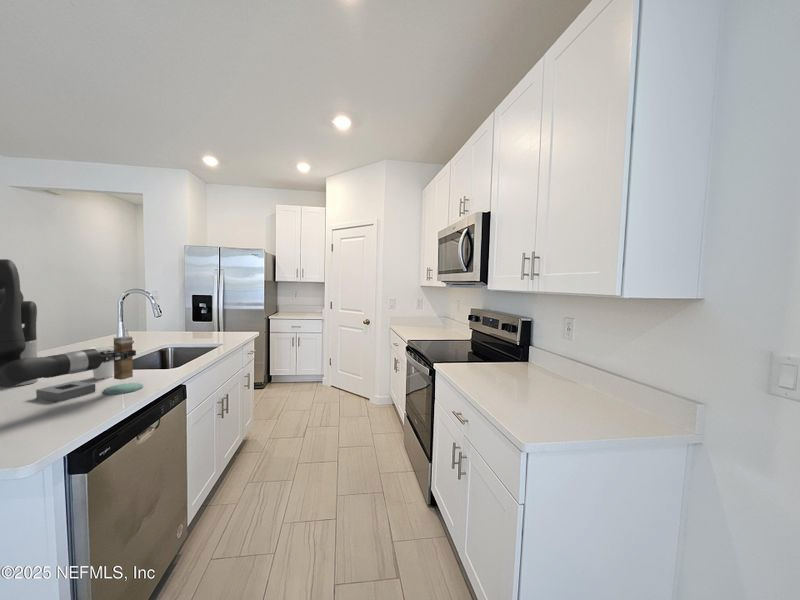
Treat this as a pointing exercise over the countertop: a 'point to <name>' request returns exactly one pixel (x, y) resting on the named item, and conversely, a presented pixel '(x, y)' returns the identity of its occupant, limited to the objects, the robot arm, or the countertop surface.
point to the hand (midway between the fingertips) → (130, 352)
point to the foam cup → (104, 365)
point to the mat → (123, 388)
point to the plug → (125, 366)
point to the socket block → (65, 391)
